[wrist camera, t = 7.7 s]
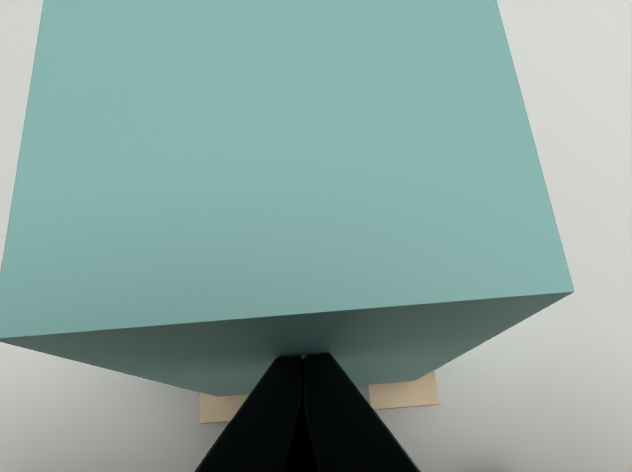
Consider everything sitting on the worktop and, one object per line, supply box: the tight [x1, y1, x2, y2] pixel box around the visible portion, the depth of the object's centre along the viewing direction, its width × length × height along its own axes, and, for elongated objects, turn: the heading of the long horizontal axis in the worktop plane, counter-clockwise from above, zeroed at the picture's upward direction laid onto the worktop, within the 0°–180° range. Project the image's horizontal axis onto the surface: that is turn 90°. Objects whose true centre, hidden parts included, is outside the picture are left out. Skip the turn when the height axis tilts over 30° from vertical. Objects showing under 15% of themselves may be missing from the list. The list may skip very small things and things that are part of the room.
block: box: [0, 0, 574, 397], centre depth 10 cm, size 5×6×10 cm
